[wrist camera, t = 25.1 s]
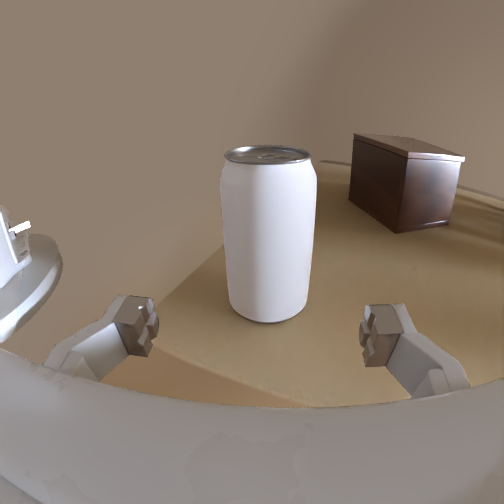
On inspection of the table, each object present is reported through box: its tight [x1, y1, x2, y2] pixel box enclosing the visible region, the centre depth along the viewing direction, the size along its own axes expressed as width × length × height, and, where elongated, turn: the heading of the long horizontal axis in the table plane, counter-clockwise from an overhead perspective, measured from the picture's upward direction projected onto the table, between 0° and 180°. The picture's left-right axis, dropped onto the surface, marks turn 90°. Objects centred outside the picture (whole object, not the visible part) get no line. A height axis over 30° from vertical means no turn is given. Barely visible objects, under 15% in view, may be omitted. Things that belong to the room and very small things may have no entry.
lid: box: [354, 133, 465, 162], centre depth 35 cm, size 12×12×1 cm
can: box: [220, 145, 317, 323], centre depth 21 cm, size 6×6×12 cm
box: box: [348, 139, 461, 233], centre depth 38 cm, size 11×12×10 cm
